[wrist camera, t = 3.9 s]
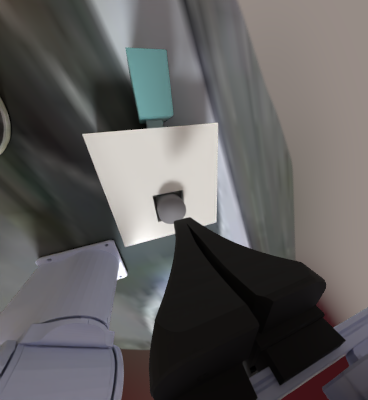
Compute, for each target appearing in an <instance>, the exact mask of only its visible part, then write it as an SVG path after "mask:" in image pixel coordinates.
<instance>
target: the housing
mask: <svg viewBox="0 0 368 400" xmlns="http://www.w3.org/2000/svg"><path fill="white" fill-rule="evenodd" d="M82 135H83V138H84V140H85V143H86V145H87V148H88V151H89V153H90V156H91V159H92V161H93V164H94V166H95V169H96V172H97V174H98V177H99V179H100V182H101V185H102V187H103V190H104V193H105V195H106V198H107V200H108V203H109V206H110V208H111V211H112V213H113V216H114V219H115V221H116V224H117V227H118V229H119V232H120V234H121V237H122V240H123V242H124V245H125V247H127V246H131V245H134V244H138V243H142V242H145V241H149V240H153V239H157V238H160V237H164V236H168V235H171V234H175V229H174V224H167V223H164V222H163V221H162V220H161V219H160V218H159V214H158V210H157V206H156V202H157V199H158V197H157V195H159V194H165V193H170V192H174V193H176V194H177V195H178V196H179V197H180V198H181V200H182V201H183V203H184V204H185V206H186V214H185V216H184V218H188V217H191V218H192V219H194V220H195V221H197V222H198V223H200V224H201V225H203V226H205V225H208V224H212V223H216V215H217V158H218V123H209V124H197V125H185V126H173V127H161V128H149V129H137V130H125V131H113V132H101V133H89V134H82ZM184 218H183V219H184Z"/></svg>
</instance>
